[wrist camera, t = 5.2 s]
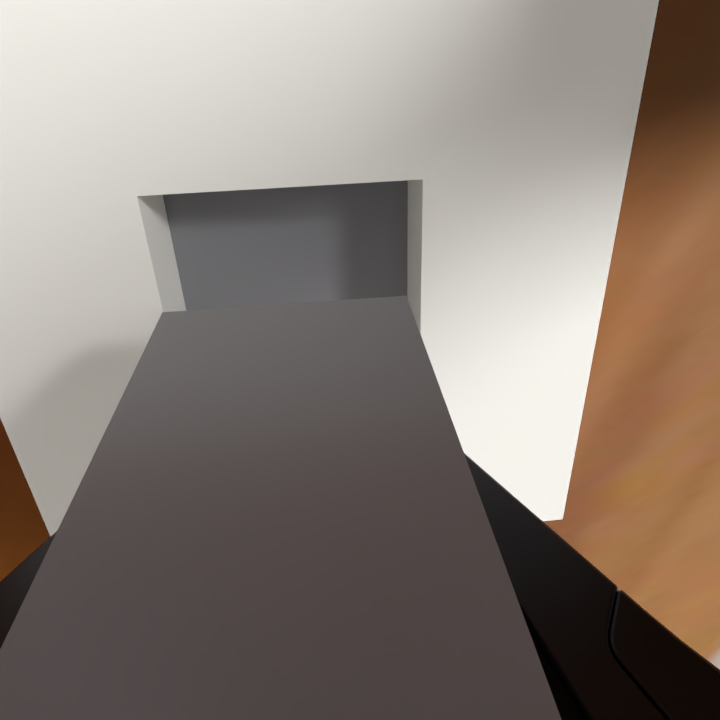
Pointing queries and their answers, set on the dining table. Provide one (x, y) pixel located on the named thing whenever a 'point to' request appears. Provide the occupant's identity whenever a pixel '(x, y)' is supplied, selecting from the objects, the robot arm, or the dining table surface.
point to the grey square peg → (276, 540)
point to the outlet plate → (314, 198)
